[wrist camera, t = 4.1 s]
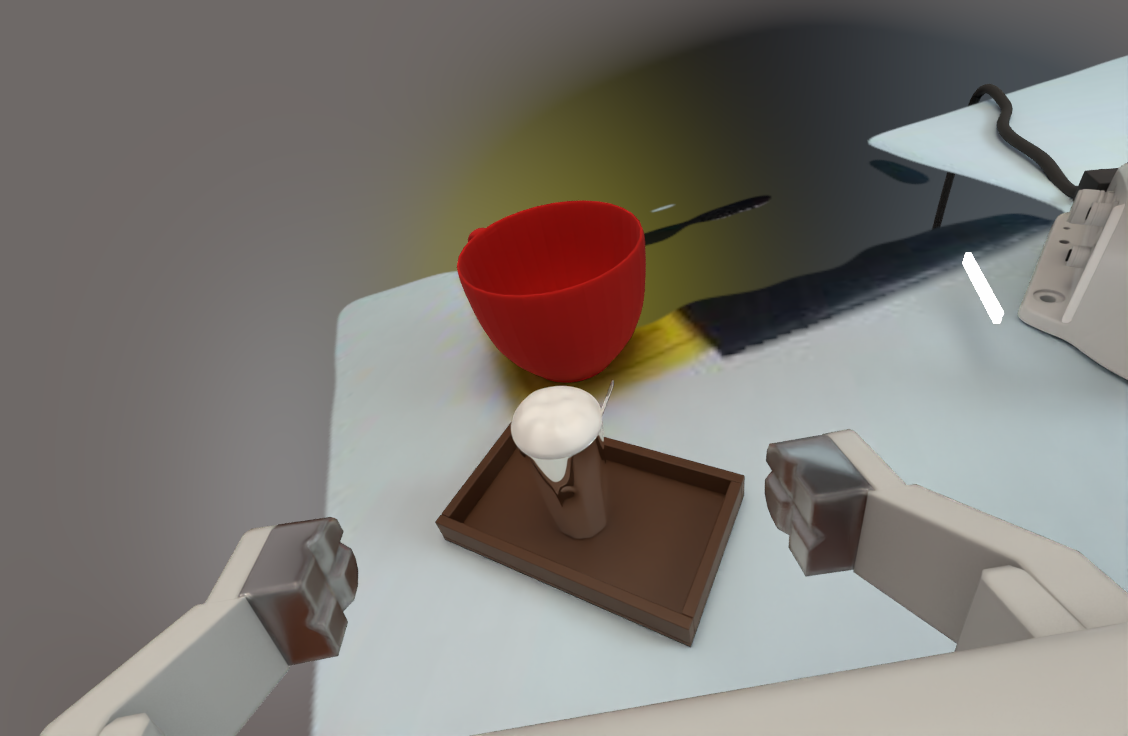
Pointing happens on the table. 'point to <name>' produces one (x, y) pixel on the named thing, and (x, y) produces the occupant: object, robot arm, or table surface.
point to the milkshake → (566, 455)
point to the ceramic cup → (558, 286)
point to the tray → (608, 532)
